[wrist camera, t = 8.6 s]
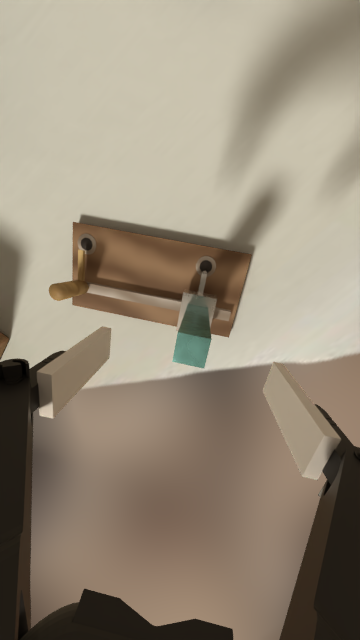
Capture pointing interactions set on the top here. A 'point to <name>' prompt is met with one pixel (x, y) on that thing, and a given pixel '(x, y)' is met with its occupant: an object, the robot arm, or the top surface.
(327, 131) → the top surface
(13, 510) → the robot arm
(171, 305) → the hole plate
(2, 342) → the wooden block
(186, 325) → the sliding lever
